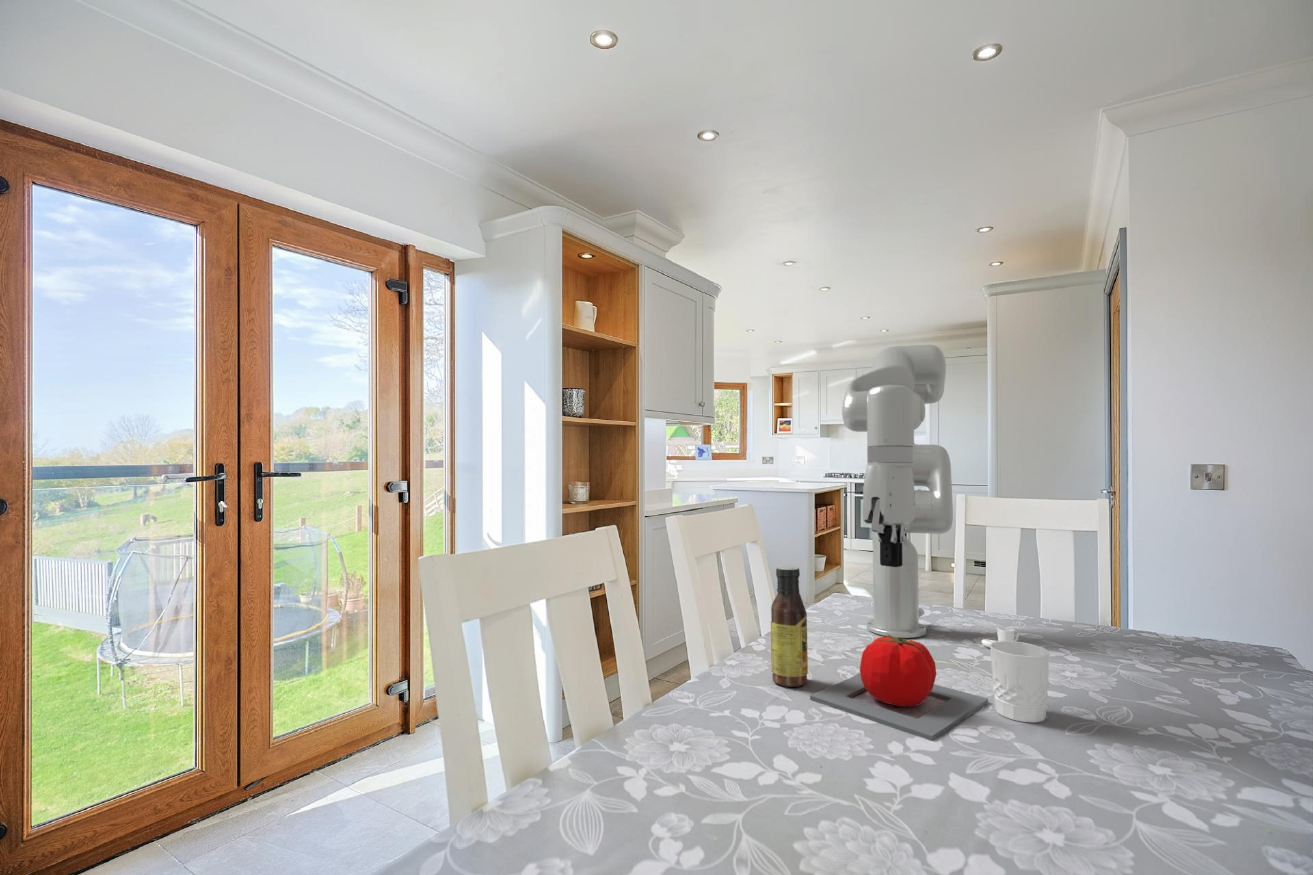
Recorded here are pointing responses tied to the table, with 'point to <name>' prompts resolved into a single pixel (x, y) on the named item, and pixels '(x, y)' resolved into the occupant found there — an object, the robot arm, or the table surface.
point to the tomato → (897, 671)
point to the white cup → (1020, 680)
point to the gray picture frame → (925, 726)
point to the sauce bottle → (789, 631)
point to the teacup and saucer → (1002, 636)
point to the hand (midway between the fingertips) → (891, 565)
